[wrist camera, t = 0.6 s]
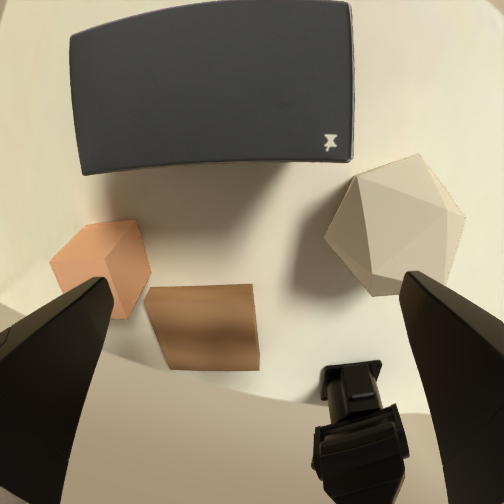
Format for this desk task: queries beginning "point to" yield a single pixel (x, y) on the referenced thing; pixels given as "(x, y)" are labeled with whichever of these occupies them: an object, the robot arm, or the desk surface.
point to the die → (396, 226)
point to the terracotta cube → (106, 262)
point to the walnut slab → (205, 326)
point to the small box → (215, 86)
